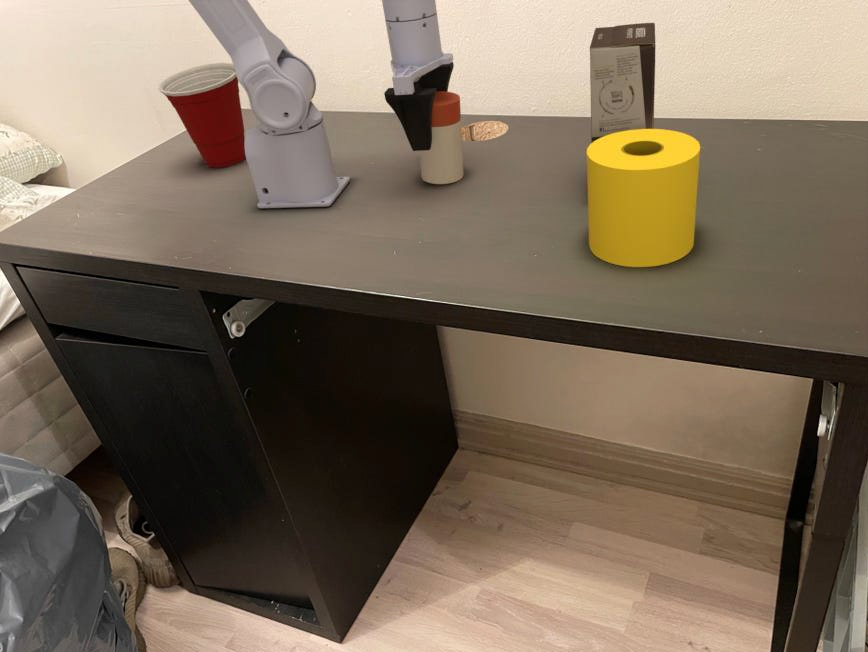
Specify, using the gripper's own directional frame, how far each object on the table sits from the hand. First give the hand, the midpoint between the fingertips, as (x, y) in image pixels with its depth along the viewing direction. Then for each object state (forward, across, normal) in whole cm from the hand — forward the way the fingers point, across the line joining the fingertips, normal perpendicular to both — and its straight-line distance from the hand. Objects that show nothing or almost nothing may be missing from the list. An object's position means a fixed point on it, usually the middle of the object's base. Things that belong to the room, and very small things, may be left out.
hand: (429, 137), depth 88 cm
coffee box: (+5, -4, -23) cm, 24 cm away
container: (+5, 0, -1) cm, 5 cm away
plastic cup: (+5, +9, +33) cm, 35 cm away
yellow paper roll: (+5, -18, -25) cm, 31 cm away
